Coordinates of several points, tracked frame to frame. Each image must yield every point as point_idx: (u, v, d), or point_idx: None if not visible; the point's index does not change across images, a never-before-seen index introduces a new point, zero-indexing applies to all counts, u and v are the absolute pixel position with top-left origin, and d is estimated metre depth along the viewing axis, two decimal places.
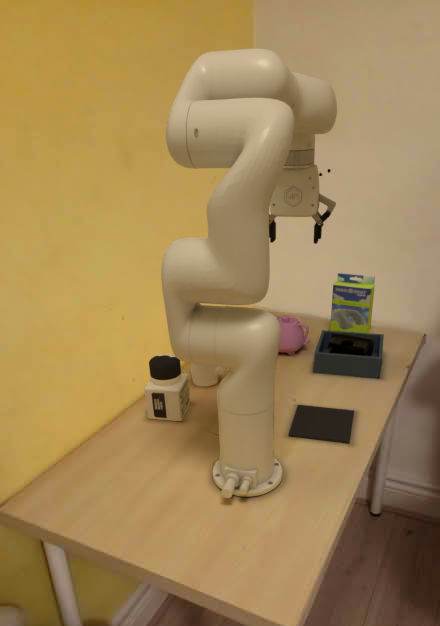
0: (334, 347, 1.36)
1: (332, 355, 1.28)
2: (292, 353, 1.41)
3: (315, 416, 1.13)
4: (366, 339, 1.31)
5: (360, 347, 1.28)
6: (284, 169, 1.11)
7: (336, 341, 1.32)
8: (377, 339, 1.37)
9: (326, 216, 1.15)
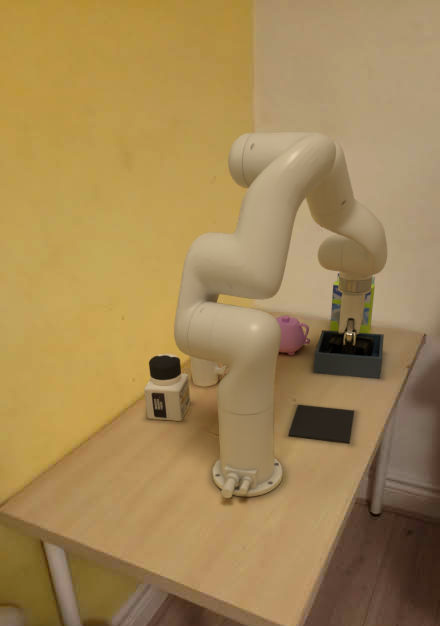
0: (334, 347, 1.36)
1: (332, 355, 1.28)
2: (292, 353, 1.41)
3: (315, 416, 1.13)
4: (366, 339, 1.31)
5: (360, 347, 1.28)
6: None
7: (336, 341, 1.32)
8: (377, 339, 1.37)
9: None
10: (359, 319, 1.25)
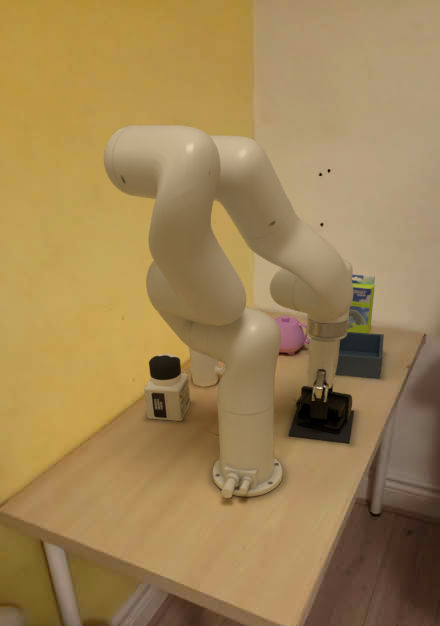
0: (305, 403, 1.12)
1: None
2: (292, 353, 1.41)
3: None
4: (343, 396, 1.07)
5: (335, 408, 1.04)
6: None
7: (306, 399, 1.07)
8: (377, 339, 1.37)
9: None
10: (332, 371, 1.00)
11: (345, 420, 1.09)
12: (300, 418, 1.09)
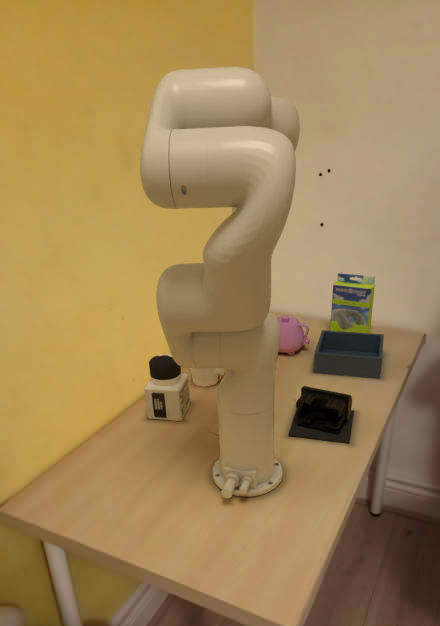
0: (305, 404, 1.12)
1: (332, 355, 1.28)
2: (292, 353, 1.41)
3: None
4: (343, 396, 1.07)
5: (335, 408, 1.04)
6: None
7: (306, 399, 1.07)
8: (377, 339, 1.37)
9: None
10: None
11: (345, 420, 1.09)
12: (300, 418, 1.09)
